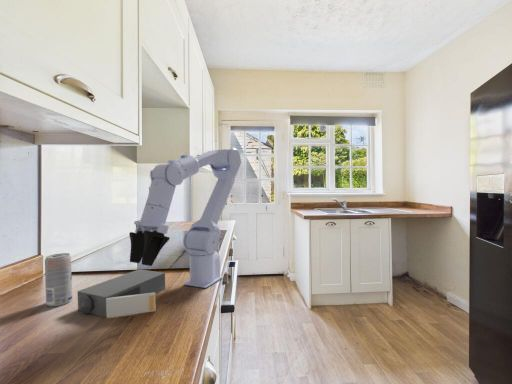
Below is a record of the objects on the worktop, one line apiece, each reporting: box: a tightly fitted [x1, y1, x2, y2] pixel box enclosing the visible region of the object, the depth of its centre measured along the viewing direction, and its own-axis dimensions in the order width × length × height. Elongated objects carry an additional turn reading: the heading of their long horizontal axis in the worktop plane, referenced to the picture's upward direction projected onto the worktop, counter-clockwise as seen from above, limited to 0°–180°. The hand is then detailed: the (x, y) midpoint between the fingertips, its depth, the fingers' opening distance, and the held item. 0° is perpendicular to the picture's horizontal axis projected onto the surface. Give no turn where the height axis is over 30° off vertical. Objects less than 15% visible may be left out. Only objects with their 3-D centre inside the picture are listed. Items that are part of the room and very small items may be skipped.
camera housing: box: [77, 269, 166, 319], centre depth 68 cm, size 19×10×4 cm, turn 156°
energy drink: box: [44, 252, 73, 308], centre depth 67 cm, size 5×5×12 cm
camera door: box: [106, 292, 157, 319], centre depth 59 cm, size 10×1×4 cm, turn 106°
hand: (140, 263), depth 61 cm, fingers open, 7 cm apart
